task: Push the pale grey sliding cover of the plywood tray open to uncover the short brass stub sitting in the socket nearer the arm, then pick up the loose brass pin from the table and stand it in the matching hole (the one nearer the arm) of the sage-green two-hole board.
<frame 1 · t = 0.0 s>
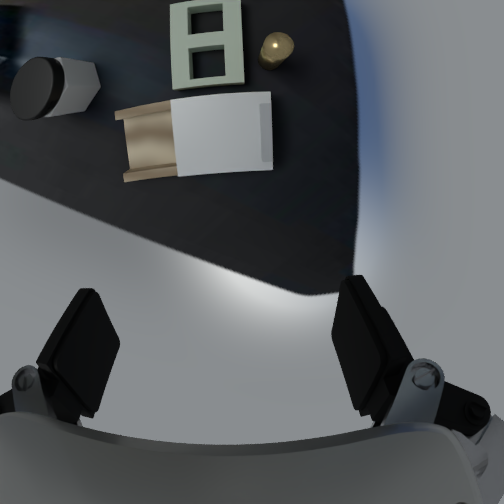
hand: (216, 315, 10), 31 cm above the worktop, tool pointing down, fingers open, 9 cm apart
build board: (208, 44, 28), on the worktop
pin: (269, 60, 30), on the worktop
tray: (195, 133, 35), on the worktop
cover: (221, 133, 30), point 5 cm above the worktop, slide at 0.0 cm
jar: (78, 87, 29), on the worktop
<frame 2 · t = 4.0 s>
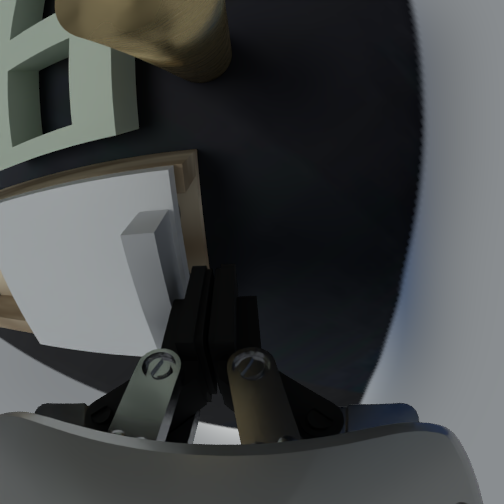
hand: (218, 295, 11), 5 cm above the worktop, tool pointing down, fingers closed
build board: (66, 43, 9), on the worktop
pin: (201, 55, 11), on the worktop
tray: (65, 245, 15), on the worktop
cover: (69, 294, 11), point 5 cm above the worktop, slide at 0.3 cm, touching gripper
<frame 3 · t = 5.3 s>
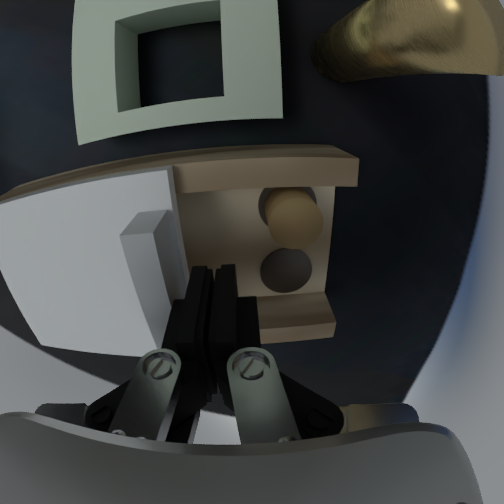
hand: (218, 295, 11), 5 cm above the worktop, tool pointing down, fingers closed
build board: (179, 10, 9), on the worktop
pin: (338, 56, 11), on the worktop
tray: (156, 239, 16), on the worktop
cover: (69, 294, 11), point 5 cm above the worktop, slide at 7.4 cm, touching gripper
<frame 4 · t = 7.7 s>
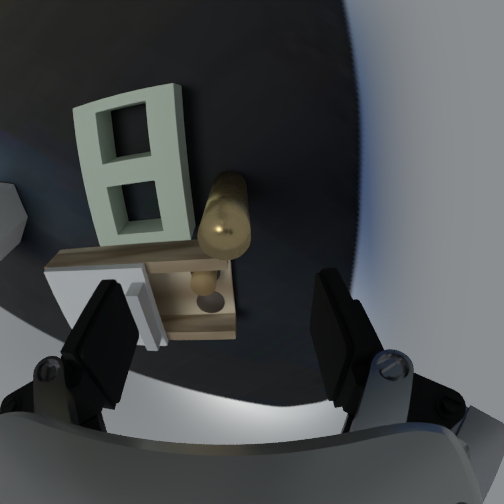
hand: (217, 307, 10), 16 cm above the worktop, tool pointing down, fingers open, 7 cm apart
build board: (139, 164, 22), on the worktop
pin: (229, 186, 24), on the worktop
tray: (143, 283, 29), on the worktop
cover: (100, 314, 24), point 5 cm above the worktop, slide at 7.4 cm
jar: (7, 210, 23), on the worktop
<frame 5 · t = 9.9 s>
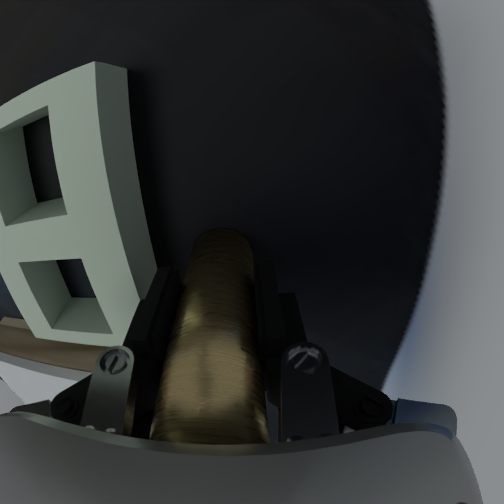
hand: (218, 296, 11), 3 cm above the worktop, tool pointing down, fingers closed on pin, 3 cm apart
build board: (69, 214, 12), on the worktop
pin: (222, 255, 14), on the worktop, touching gripper
tray: (108, 369, 18), on the worktop
cover: (57, 414, 14), point 5 cm above the worktop, slide at 7.4 cm
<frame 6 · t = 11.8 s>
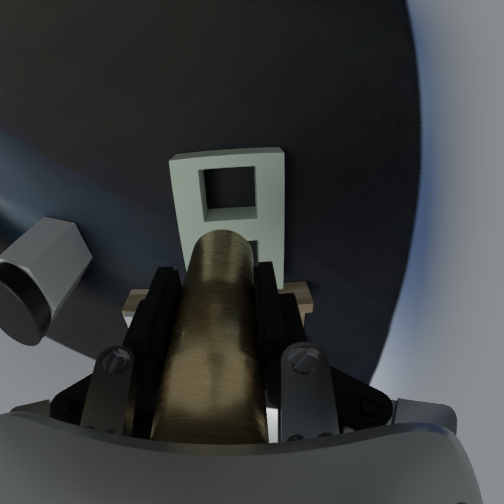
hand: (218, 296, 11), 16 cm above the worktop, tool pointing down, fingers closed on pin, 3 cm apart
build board: (232, 217, 26), on the worktop
pin: (222, 256, 14), point 12 cm above the worktop, touching gripper
tray: (220, 319, 32), on the worktop
cover: (186, 353, 28), point 5 cm above the worktop, slide at 7.4 cm
jar: (63, 247, 27), on the worktop
when the fingers open (3 cm above the worktop, at t = 14.1 s): pin stays where it is, resting in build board.
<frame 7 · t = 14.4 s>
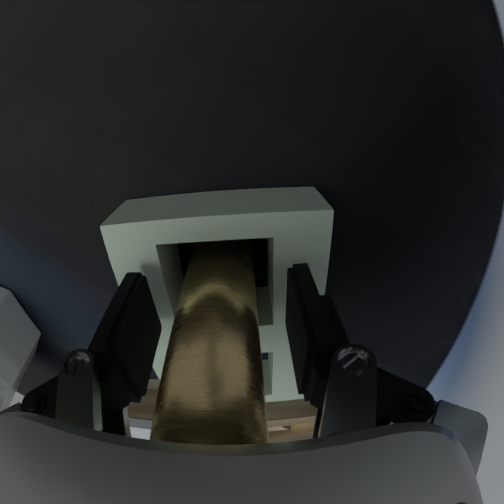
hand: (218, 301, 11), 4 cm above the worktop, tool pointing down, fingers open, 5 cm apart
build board: (228, 302, 16), on the worktop
pin: (222, 253, 14), resting in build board
tray: (215, 409, 22), on the worktop
cover: (174, 457, 17), point 5 cm above the worktop, slide at 7.4 cm
jar: (8, 315, 16), on the worktop
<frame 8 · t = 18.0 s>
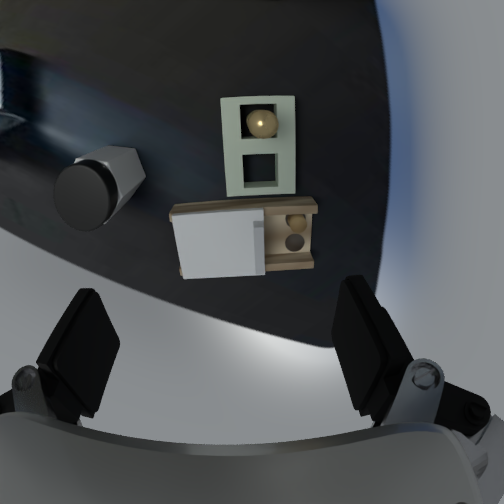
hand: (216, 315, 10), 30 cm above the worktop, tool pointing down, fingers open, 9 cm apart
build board: (258, 143, 35), on the worktop
pin: (257, 120, 34), resting in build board
tray: (244, 230, 42), on the worktop
cover: (219, 248, 37), point 5 cm above the worktop, slide at 7.4 cm
jar: (119, 171, 36), on the worktop
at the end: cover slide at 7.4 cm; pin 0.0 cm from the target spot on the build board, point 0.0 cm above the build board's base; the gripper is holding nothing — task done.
